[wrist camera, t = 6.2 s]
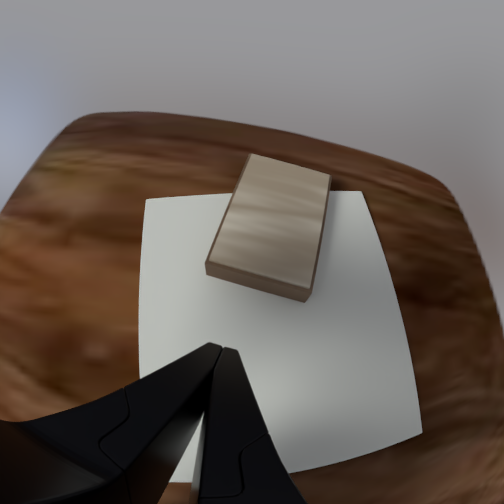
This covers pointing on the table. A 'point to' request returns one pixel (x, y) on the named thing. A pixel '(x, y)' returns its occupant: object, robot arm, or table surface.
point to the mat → (286, 332)
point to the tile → (272, 229)
